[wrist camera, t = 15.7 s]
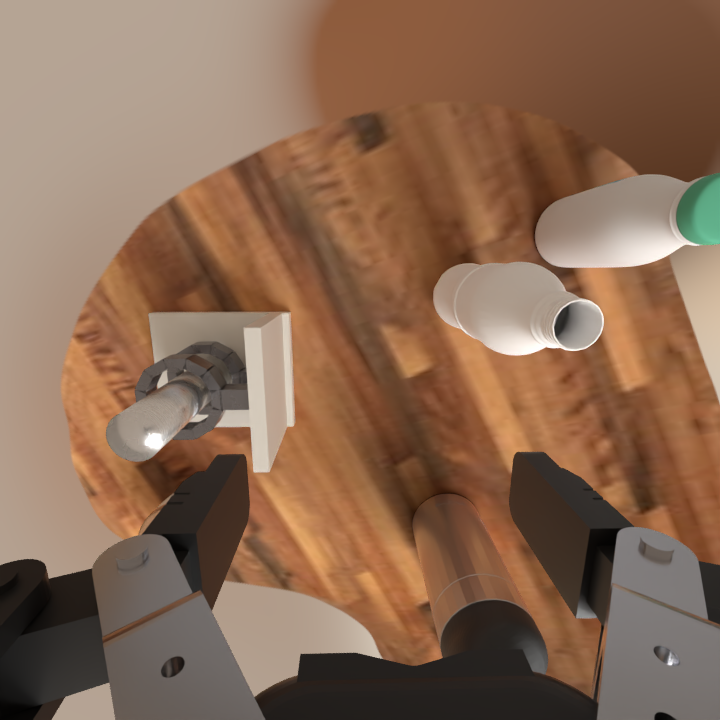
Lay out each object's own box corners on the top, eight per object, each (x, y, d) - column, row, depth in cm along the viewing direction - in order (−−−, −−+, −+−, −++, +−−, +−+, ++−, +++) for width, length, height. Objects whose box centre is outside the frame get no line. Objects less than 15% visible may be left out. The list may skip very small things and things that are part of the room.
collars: (273, 407, 46) (256, 438, 38) (179, 408, 46) (141, 440, 37) (270, 341, 44) (251, 358, 36) (171, 341, 44) (130, 359, 35)
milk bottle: (558, 281, 46) (710, 291, 27) (519, 231, 45) (648, 204, 25) (611, 234, 45) (810, 210, 26) (572, 182, 44) (751, 114, 24)
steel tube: (231, 356, 46) (157, 411, 28) (233, 388, 47) (164, 461, 29) (196, 356, 46) (100, 411, 28) (199, 388, 47) (109, 461, 29)
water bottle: (442, 334, 47) (539, 405, 23) (419, 280, 46) (496, 295, 21) (497, 308, 47) (656, 353, 22) (475, 252, 45) (620, 236, 21)
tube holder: (295, 421, 50) (277, 472, 37) (168, 422, 49) (108, 474, 37) (290, 311, 46) (269, 327, 34) (154, 311, 46) (84, 328, 34)
